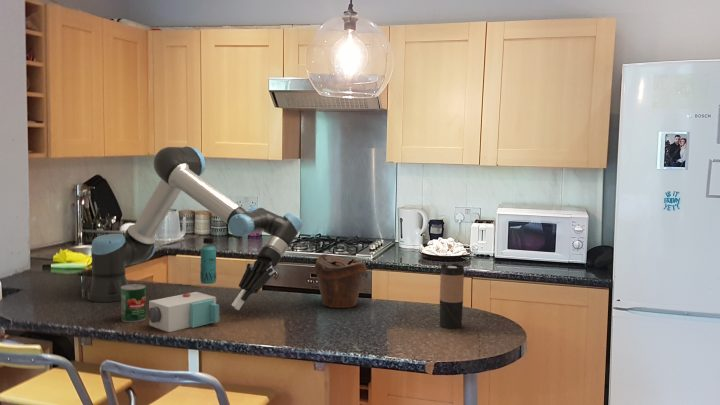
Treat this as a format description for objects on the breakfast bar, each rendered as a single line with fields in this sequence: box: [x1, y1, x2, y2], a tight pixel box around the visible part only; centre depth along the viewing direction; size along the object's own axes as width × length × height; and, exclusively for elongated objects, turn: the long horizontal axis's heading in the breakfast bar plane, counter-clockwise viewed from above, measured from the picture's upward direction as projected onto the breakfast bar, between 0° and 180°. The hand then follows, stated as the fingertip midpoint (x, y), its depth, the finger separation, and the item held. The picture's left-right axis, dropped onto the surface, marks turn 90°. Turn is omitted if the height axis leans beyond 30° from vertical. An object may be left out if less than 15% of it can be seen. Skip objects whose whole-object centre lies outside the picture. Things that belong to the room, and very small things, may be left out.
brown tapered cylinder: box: [313, 253, 369, 309], centre depth 239 cm, size 18×20×18 cm
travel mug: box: [439, 263, 465, 329], centre depth 213 cm, size 8×8×20 cm
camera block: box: [147, 291, 217, 333], centre depth 210 cm, size 11×20×9 cm, turn 139°
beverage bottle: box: [199, 237, 217, 285], centre depth 264 cm, size 6×7×20 cm
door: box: [189, 299, 220, 329], centre depth 207 cm, size 4×8×8 cm, turn 139°
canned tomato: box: [120, 283, 147, 323], centre depth 215 cm, size 8×8×11 cm
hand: (235, 307), depth 214 cm, fingers closed
